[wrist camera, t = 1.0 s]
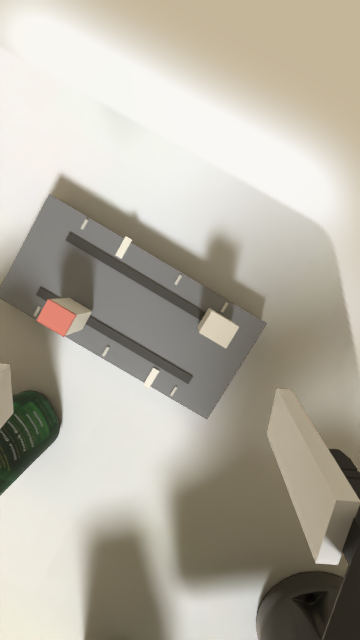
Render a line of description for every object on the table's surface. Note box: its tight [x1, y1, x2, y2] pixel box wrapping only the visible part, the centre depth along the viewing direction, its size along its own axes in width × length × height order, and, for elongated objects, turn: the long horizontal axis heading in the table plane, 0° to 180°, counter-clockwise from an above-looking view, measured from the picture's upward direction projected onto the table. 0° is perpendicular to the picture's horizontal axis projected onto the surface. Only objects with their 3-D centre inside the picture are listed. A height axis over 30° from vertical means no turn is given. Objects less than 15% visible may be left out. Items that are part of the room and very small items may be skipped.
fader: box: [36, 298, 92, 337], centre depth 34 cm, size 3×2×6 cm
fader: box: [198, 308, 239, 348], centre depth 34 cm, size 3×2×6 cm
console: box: [0, 194, 267, 419], centre depth 39 cm, size 28×14×3 cm, turn 59°
